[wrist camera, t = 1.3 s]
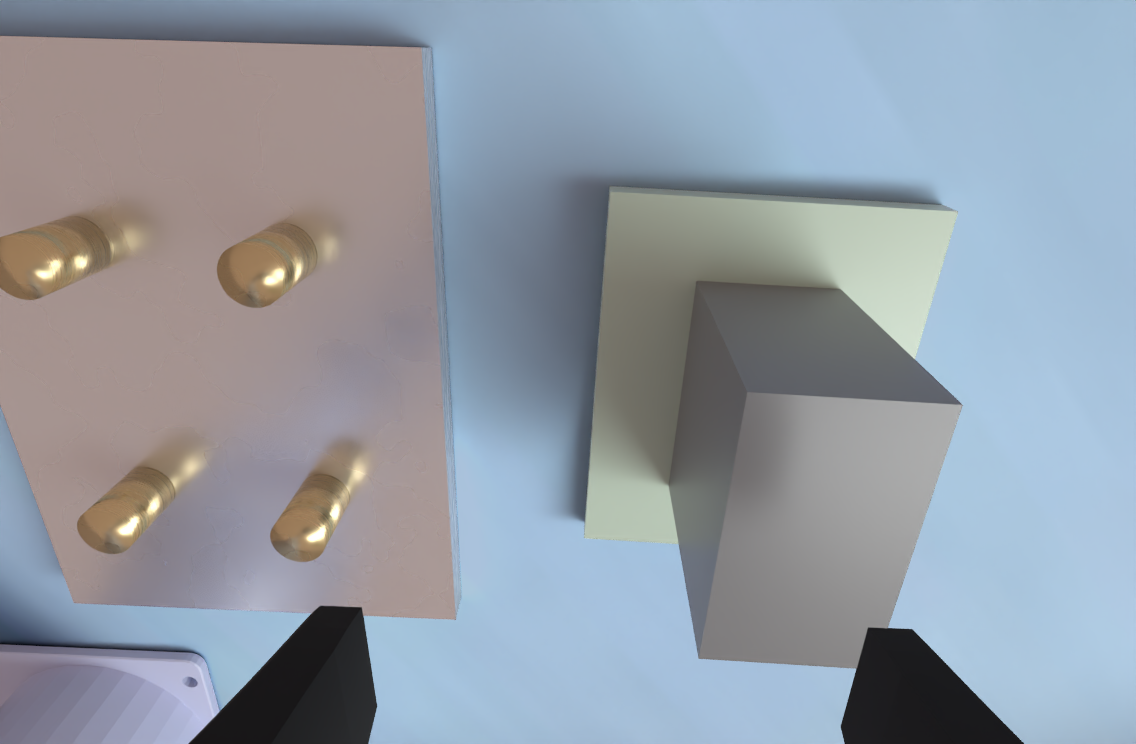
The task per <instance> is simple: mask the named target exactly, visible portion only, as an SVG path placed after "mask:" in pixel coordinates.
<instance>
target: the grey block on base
mask: <svg viewBox="0 0 1136 744" xmlns="http://www.w3.org/2000/svg"><path fill="white" fill-rule="evenodd" d="M957 214H958V211H956V210H953V209H951V208H949V207H946V206H944V205H937V204H920V203H902V202H884V201H867V200H849V199H831V198H814V197H796V196H778V195H761V194H743V193H726V192H708V191H690V190H673V189H655V188H637V187H620V186H610V187H609V200H608V214H607V227H606V240H605V254H604V267H603V281H602V294H601V308H600V321H599V335H598V348H597V361H596V375H595V388H594V402H593V415H592V429H591V442H590V456H589V469H588V483H587V496H586V509H585V525H584V538H589V539H606V540H622V541H638V542H654V543H671V544H679V548H680V554H681V560H682V566H683V571H684V577H685V583H686V589H687V594H688V600H689V606H690V611H691V617H692V623H693V629H694V634H695V640H696V646H697V651H698V657H699V659H713V660H729V661H745V662H761V663H777V664H793V665H808V666H824V667H840V668H856V669H857V666H858V662H859V659H860V655H861V651H862V648H863V644H864V640H865V637H866V633H867V629H868V627H870V628H888V625H889V622H890V619H891V616H892V613H893V611H894V608H895V605H896V602H897V599H898V596H899V593H900V590H901V587H902V584H903V581H904V578H905V575H906V572H907V569H908V566H909V563H910V560H911V557H912V554H913V551H914V548H915V545H916V542H917V539H918V536H919V533H920V530H921V527H922V524H923V521H924V518H925V516H926V513H927V510H928V507H929V504H930V501H931V498H932V495H933V492H934V489H935V486H936V483H937V480H938V477H939V474H940V471H941V468H942V465H943V462H944V459H945V456H946V453H947V450H948V447H949V444H950V441H951V438H952V435H953V432H954V429H955V426H956V424H957V421H958V418H959V415H960V412H961V409H962V406H963V405H962V404H961V403H960V402H959V401H958V400H957V399H956V398H955V397H954V396H953V395H952V394H951V393H950V392H949V391H947V390H946V389H945V388H944V387H943V386H942V385H941V384H940V383H939V382H938V381H937V380H936V379H935V378H934V377H933V376H932V375H931V374H930V373H929V372H927V371H926V370H925V369H924V368H923V367H922V366H921V365H920V364H919V363H918V362H917V361H916V360H915V357H916V354H917V350H918V347H919V343H920V340H921V337H922V333H923V330H924V326H925V323H926V319H927V316H928V313H929V309H930V306H931V302H932V299H933V296H934V292H935V289H936V285H937V282H938V279H939V275H940V272H941V268H942V265H943V262H944V258H945V255H946V251H947V248H948V244H949V241H950V238H951V234H952V231H953V227H954V224H955V221H956V217H957Z"/></svg>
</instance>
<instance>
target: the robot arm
mask: <svg viewBox="0 0 1136 744" xmlns="http://www.w3.org/2000/svg"><path fill="white" fill-rule="evenodd" d="M376 708H377V703H376V696H375V690H374V683H373V677H372V670H371V663H370V657H369V650H368V644H367V637H366V631H365V624H364V617H363V611H362V607H344V606H319V607H318V608H317V609H316V610H315V611H313V613H312V614H311V615H310V616H309V617H308V618H307V619H306V620H305V621H304V622H303V623H302V624H301V625H300V627H299V628H298V629H297V630H296V631H295V632H294V633H293V634H292V635H291V636H290V638H289V639H288V640H287V641H286V642H285V643H284V644H283V645H282V646H281V647H280V648H279V650H278V651H277V652H276V653H275V654H274V655H273V656H272V657H271V658H270V659H269V660H268V661H267V663H266V664H265V665H264V666H263V667H262V668H261V669H260V670H259V671H258V672H257V673H256V674H255V675H254V676H253V677H252V679H251V680H250V681H249V682H248V683H247V684H246V685H245V686H244V687H243V688H242V689H241V690H240V691H239V692H238V693H237V694H236V695H235V696H234V697H233V698H232V699H231V701H230V702H229V703H228V704H227V705H226V706H225V707H224V708H223V709H222V710H221V711H219V707H218V704H217V700H216V696H215V693H214V689H213V686H212V682H211V678H210V675H209V671H208V667H207V664H206V662H205V660H204V659H203V658H202V657H201V656H199V655H197V654H194V653H185V652H162V651H140V650H117V649H95V648H72V647H49V646H27V645H4V644H0V744H368V742H369V738H370V733H371V729H372V725H373V721H374V717H375V713H376ZM841 730H842V734H843V738H844V742H845V744H1024V743H1023V742H1022V741H1021V740H1020V739H1019V738H1018V737H1017V736H1016V735H1015V734H1014V733H1013V732H1012V731H1011V730H1010V729H1009V728H1008V727H1007V726H1006V725H1005V724H1004V723H1003V722H1002V721H1001V720H1000V719H999V718H998V717H997V716H996V715H995V714H994V713H993V712H992V711H991V710H990V709H989V708H988V707H987V706H986V705H985V704H984V702H983V701H982V700H981V699H980V698H979V697H978V696H977V695H976V694H975V693H974V692H973V691H972V690H971V689H970V688H969V687H968V686H967V685H966V684H965V683H964V682H963V681H962V680H961V679H960V678H959V677H958V676H957V675H956V674H955V673H954V672H953V671H952V669H951V668H950V667H949V666H948V665H947V664H946V663H945V662H944V661H943V660H942V659H941V658H940V657H939V656H938V655H937V654H936V653H935V652H934V651H933V650H932V649H931V648H930V647H929V646H928V645H927V644H926V643H925V642H924V641H923V640H922V639H921V638H920V637H919V636H918V635H917V634H916V633H915V632H914V631H913V630H912V629H895V628H870V627H868V629H867V633H866V637H865V640H864V644H863V648H862V651H861V655H860V659H859V662H858V666H857V669H856V673H855V677H854V680H853V684H852V688H851V691H850V695H849V699H848V702H847V706H846V709H845V713H844V717H843V720H842V724H841Z"/></svg>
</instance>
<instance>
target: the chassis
mask: <svg viewBox="0 0 1136 744" xmlns="http://www.w3.org/2000/svg"><path fill="white" fill-rule="evenodd" d="M0 405H1V408H2V411H3V414H4V416H5V419H6V422H7V424H8V427H9V430H10V432H11V435H12V438H13V440H14V443H15V446H16V448H17V451H18V454H19V457H20V459H21V462H22V465H23V467H24V470H25V473H26V475H27V478H28V481H29V483H30V486H31V489H32V491H33V494H34V497H35V499H36V502H37V505H38V508H39V510H40V513H41V516H42V518H43V521H44V524H45V526H46V529H47V532H48V534H49V537H50V540H51V542H52V545H53V548H54V551H55V553H56V556H57V559H58V561H59V564H60V567H61V569H62V572H63V575H64V577H65V580H66V583H67V585H68V588H69V591H70V594H71V596H72V599H73V602H74V603H84V604H107V605H130V606H153V607H176V608H200V609H223V610H246V611H269V612H292V613H313V611H315V610H316V609H317V608H318V607H319V606H344V607H362V611H363V616H385V617H408V618H431V619H454V620H456V617H457V612H458V608H459V604H460V600H461V580H460V561H459V543H458V524H457V506H456V488H455V469H454V451H453V432H452V414H451V396H450V377H449V359H448V340H447V322H446V303H445V285H444V267H443V248H442V230H441V211H440V193H439V174H438V156H437V138H436V119H435V101H434V82H433V64H432V48H423V47H387V46H351V45H315V44H278V43H242V42H206V41H169V40H133V39H97V38H61V37H24V36H0Z"/></svg>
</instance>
